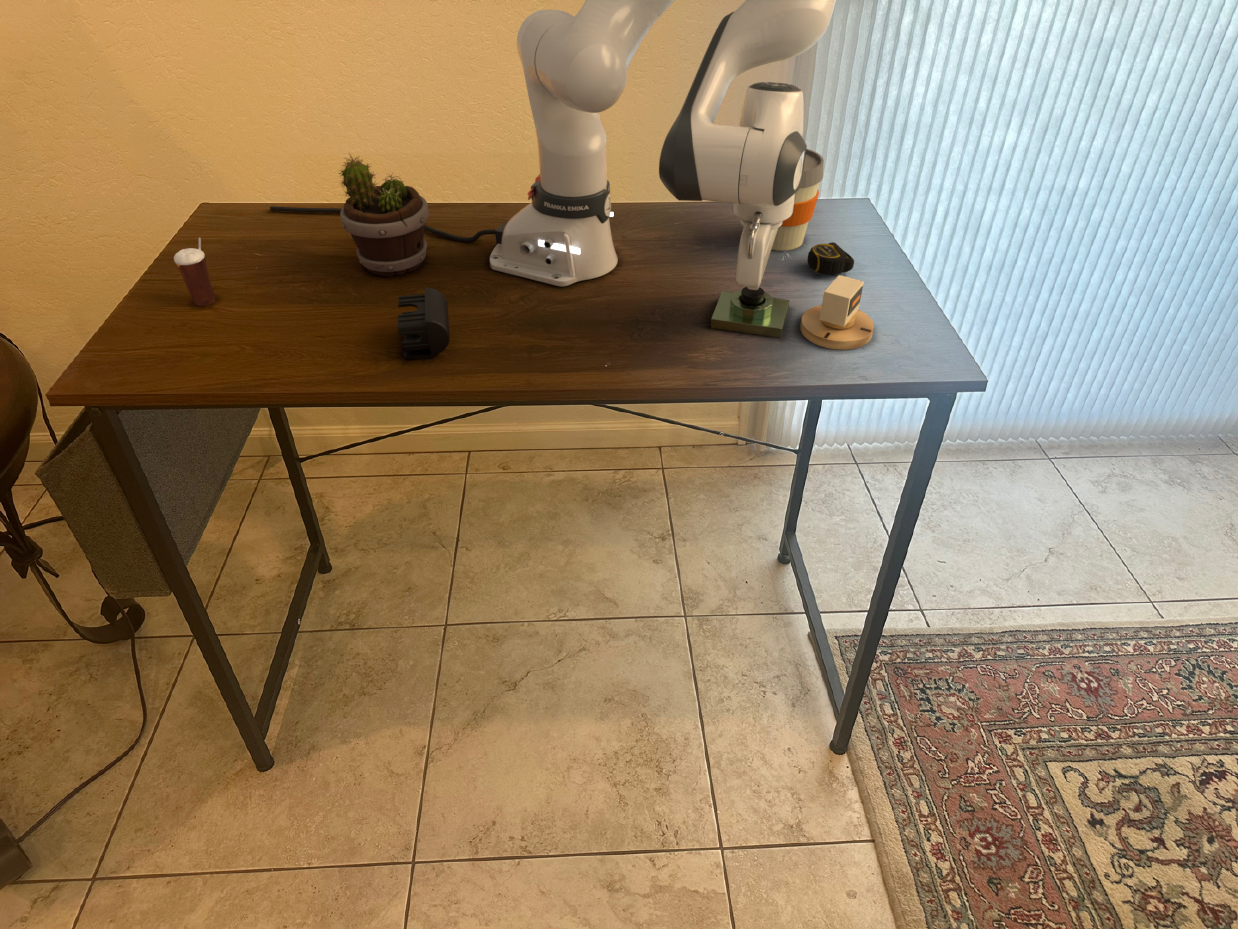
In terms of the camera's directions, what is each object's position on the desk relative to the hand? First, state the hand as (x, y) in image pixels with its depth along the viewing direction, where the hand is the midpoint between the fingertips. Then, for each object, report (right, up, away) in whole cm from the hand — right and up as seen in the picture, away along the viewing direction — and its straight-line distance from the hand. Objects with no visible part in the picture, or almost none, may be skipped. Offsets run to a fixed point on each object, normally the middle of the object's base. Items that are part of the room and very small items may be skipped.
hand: (754, 285), depth 133 cm
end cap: (-50, -9, -1) cm, 51 cm away
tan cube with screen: (+13, -6, 0) cm, 14 cm away
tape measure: (+15, +6, +16) cm, 23 cm away
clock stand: (+13, -7, +1) cm, 15 cm away
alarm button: (0, -2, +2) cm, 3 cm away
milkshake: (-89, -1, +9) cm, 90 cm away
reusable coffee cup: (+8, +13, +25) cm, 29 cm away
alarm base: (0, -5, +4) cm, 6 cm away
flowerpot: (-61, +8, +19) cm, 64 cm away
